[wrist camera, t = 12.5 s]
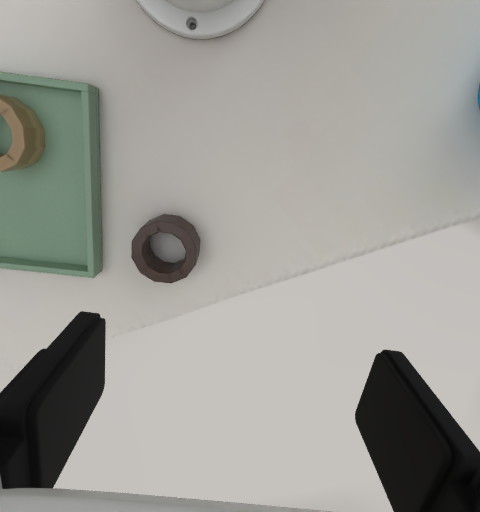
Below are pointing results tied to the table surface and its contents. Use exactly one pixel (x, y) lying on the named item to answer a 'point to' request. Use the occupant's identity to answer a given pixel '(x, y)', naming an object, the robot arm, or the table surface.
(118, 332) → the table surface
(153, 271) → the walnut ring
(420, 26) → the table surface
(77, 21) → the table surface
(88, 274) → the tray
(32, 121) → the birch ring
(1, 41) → the table surface
